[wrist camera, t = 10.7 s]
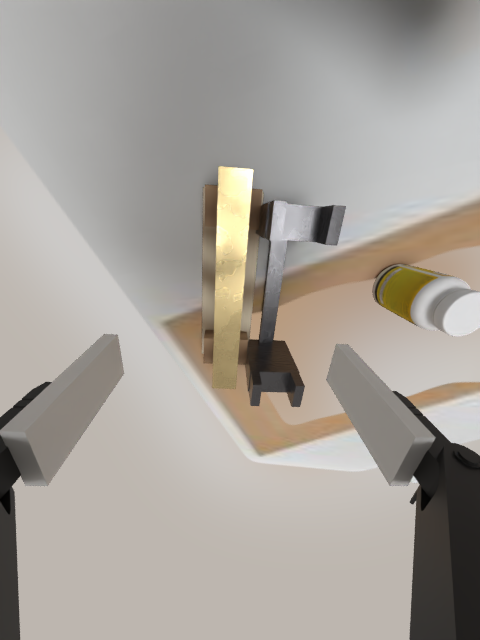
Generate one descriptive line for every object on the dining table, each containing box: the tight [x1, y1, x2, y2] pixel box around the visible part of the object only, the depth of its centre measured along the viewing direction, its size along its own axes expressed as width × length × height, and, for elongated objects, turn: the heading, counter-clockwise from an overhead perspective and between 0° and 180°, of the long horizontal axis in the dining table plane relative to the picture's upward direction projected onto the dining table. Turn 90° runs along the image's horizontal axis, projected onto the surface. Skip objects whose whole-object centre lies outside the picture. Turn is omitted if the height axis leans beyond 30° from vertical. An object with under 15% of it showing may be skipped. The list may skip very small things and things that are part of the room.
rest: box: [202, 185, 264, 365], centre depth 30 cm, size 22×7×3 cm, turn 176°
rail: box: [212, 166, 253, 389], centre depth 26 cm, size 24×3×4 cm, turn 176°
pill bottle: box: [373, 264, 480, 336], centre depth 27 cm, size 6×6×11 cm
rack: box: [245, 200, 346, 407], centre depth 27 cm, size 22×6×10 cm, turn 176°
